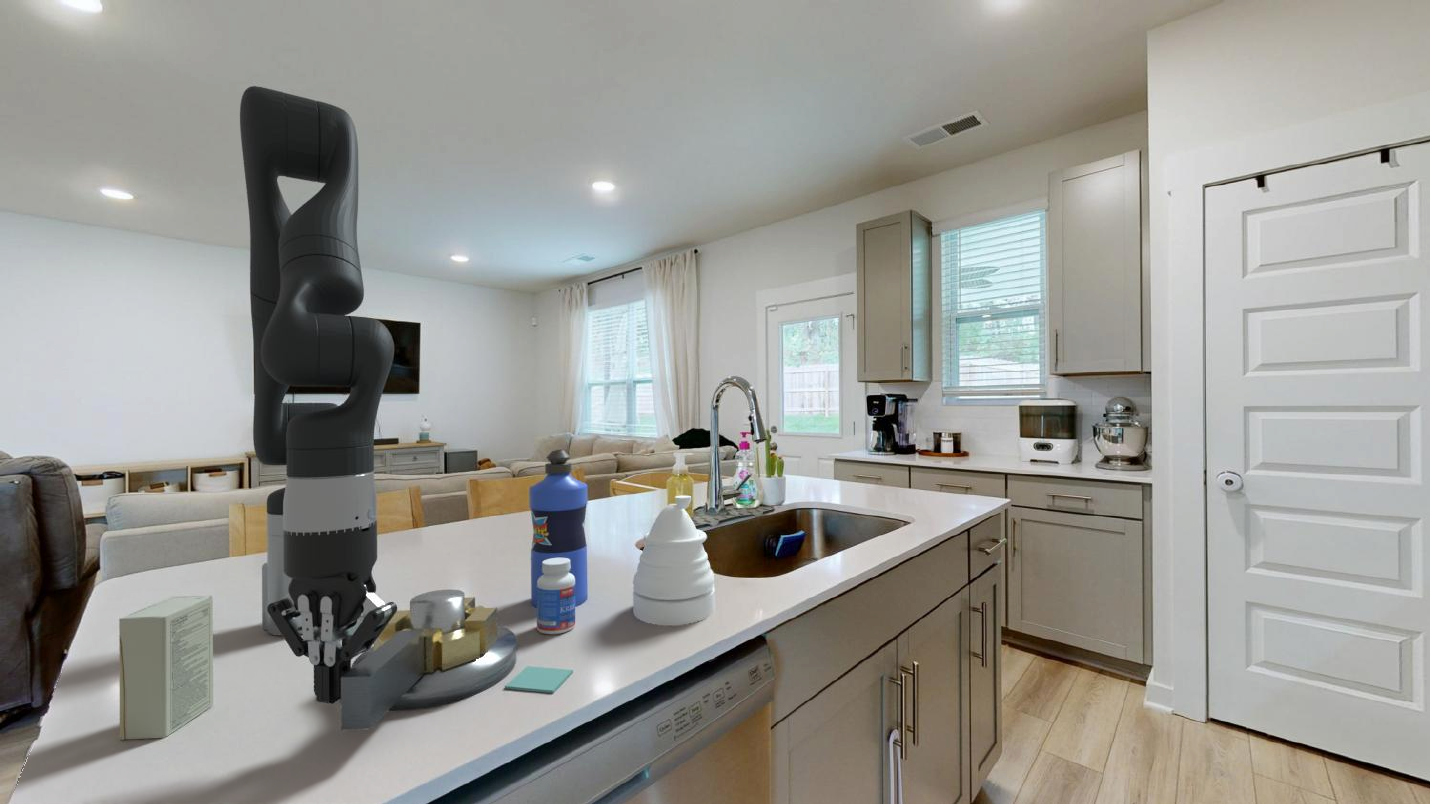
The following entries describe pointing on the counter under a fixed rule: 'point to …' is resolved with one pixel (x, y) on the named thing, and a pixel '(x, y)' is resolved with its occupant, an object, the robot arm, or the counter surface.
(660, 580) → the honey pot
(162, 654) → the skincare box
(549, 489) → the blue bottle
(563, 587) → the pill bottle
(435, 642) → the clamp assembly
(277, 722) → the counter surface
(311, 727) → the counter surface
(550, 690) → the pad
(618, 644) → the counter surface
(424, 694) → the housing
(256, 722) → the counter surface
